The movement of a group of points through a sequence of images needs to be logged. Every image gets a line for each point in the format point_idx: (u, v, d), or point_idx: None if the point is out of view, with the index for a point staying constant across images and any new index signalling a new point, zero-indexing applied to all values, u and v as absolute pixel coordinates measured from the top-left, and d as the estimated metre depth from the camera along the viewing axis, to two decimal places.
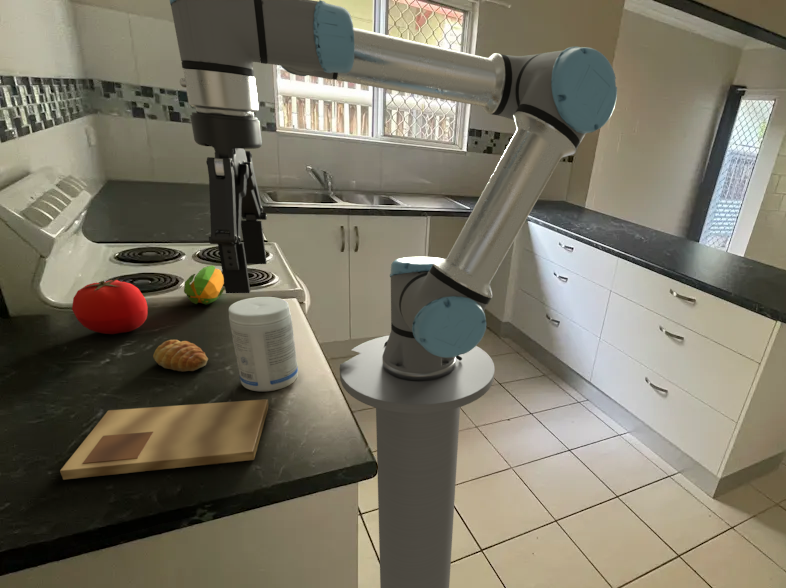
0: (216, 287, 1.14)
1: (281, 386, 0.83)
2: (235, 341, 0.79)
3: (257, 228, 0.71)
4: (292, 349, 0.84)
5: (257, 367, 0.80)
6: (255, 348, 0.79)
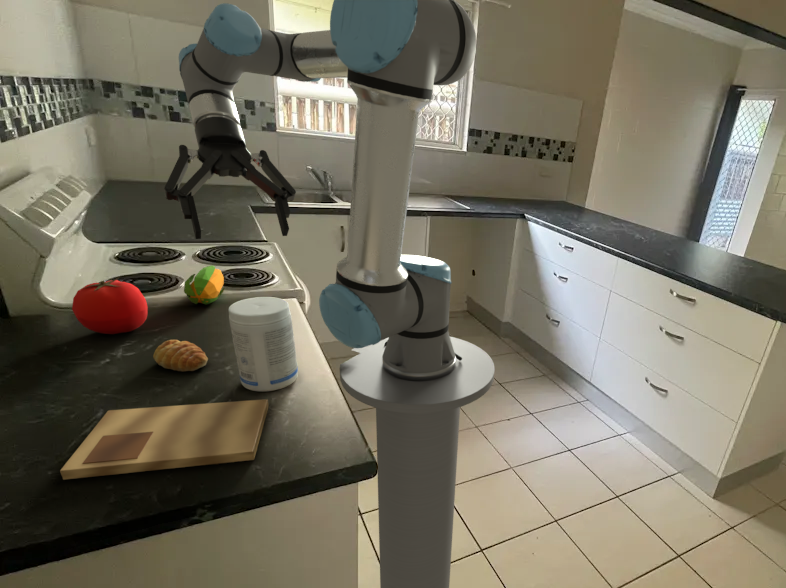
0: (216, 287, 1.14)
1: (281, 386, 0.83)
2: (235, 341, 0.79)
3: (277, 203, 0.86)
4: (292, 349, 0.84)
5: (257, 367, 0.80)
6: (255, 348, 0.79)
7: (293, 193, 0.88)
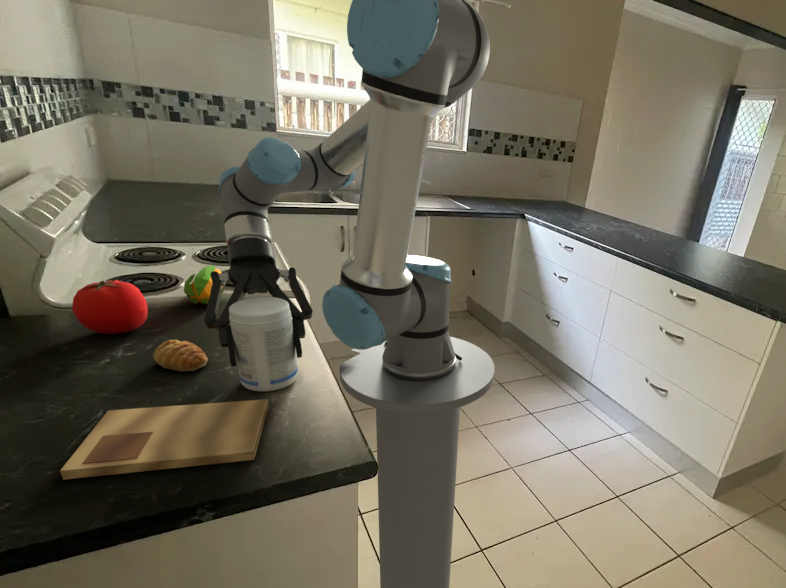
0: None
1: (281, 386, 0.83)
2: (235, 341, 0.79)
3: None
4: (292, 349, 0.84)
5: (257, 367, 0.80)
6: (255, 348, 0.79)
7: (309, 313, 0.86)
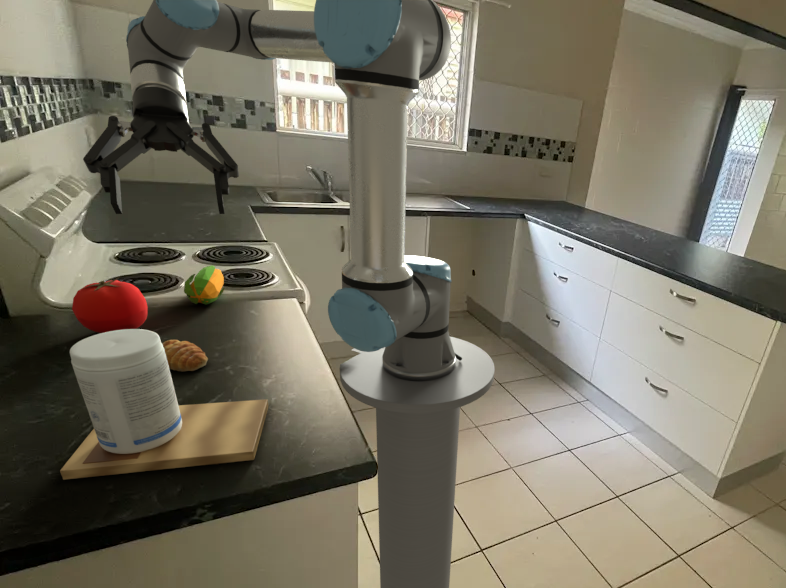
0: (216, 287, 1.14)
1: (151, 446, 0.64)
2: (81, 391, 0.60)
3: (214, 177, 0.78)
4: (166, 398, 0.64)
5: (113, 424, 0.61)
6: (107, 400, 0.59)
7: (234, 168, 0.80)
